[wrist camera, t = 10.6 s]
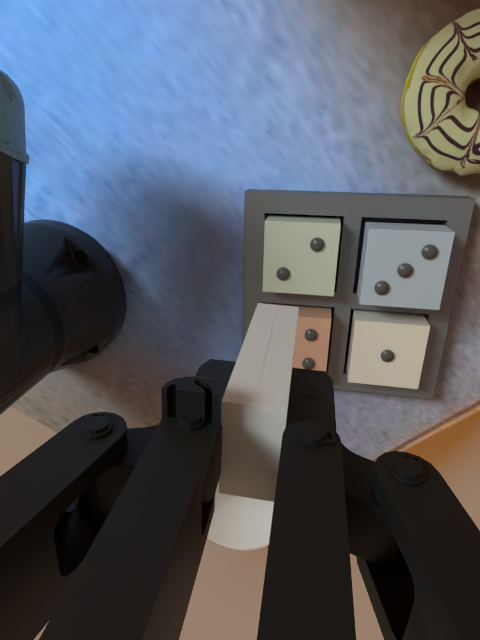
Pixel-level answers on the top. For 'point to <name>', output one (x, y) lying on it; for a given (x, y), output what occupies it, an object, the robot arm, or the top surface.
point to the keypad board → (353, 208)
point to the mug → (240, 522)
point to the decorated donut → (445, 98)
